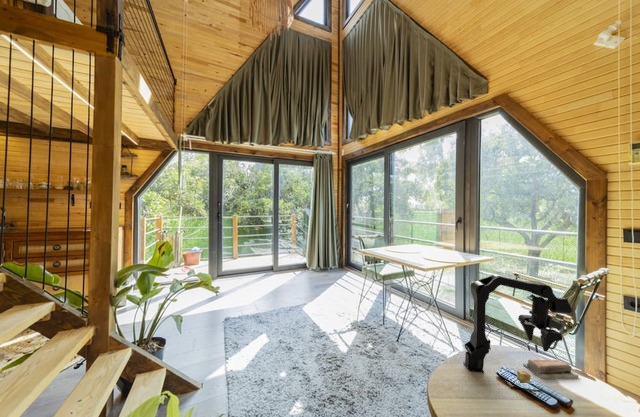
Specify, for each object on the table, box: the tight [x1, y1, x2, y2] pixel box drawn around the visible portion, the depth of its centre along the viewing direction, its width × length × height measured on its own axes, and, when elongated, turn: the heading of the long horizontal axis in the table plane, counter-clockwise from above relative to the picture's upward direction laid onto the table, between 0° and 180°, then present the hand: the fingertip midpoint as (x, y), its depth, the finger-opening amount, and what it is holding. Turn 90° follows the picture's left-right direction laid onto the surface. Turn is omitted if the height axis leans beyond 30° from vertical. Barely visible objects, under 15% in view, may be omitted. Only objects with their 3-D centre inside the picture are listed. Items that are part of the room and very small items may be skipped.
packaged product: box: [522, 359, 579, 380], centre depth 121 cm, size 18×5×10 cm
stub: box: [505, 369, 532, 388], centre depth 110 cm, size 12×3×6 cm, turn 84°
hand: (537, 345), depth 117 cm, fingers open, 9 cm apart
